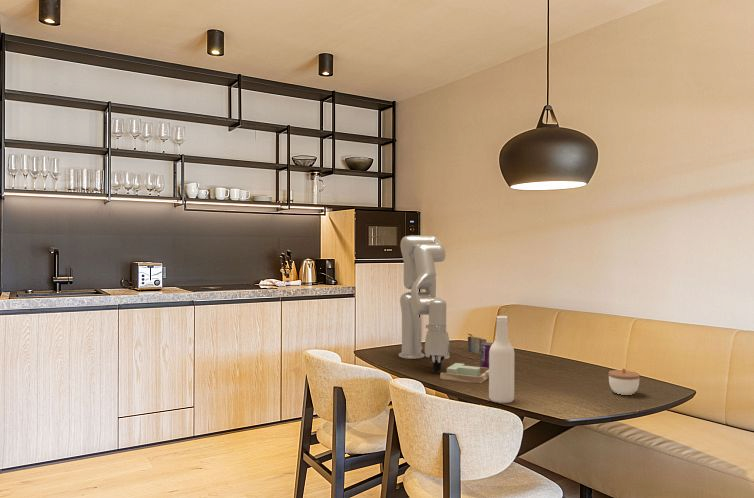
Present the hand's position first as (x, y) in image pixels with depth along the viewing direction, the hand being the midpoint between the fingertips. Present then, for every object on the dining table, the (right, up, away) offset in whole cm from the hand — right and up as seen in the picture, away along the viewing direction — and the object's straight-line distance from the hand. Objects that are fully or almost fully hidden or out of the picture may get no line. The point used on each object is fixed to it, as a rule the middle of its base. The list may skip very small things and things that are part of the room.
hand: (437, 371), depth 246 cm
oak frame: (+11, -1, -6) cm, 13 cm away
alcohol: (+19, -2, -41) cm, 45 cm away
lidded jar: (+66, -2, -32) cm, 74 cm away
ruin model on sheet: (+25, -1, +47) cm, 53 cm away
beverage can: (+23, -1, +4) cm, 23 cm away
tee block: (+11, -1, -5) cm, 12 cm away
